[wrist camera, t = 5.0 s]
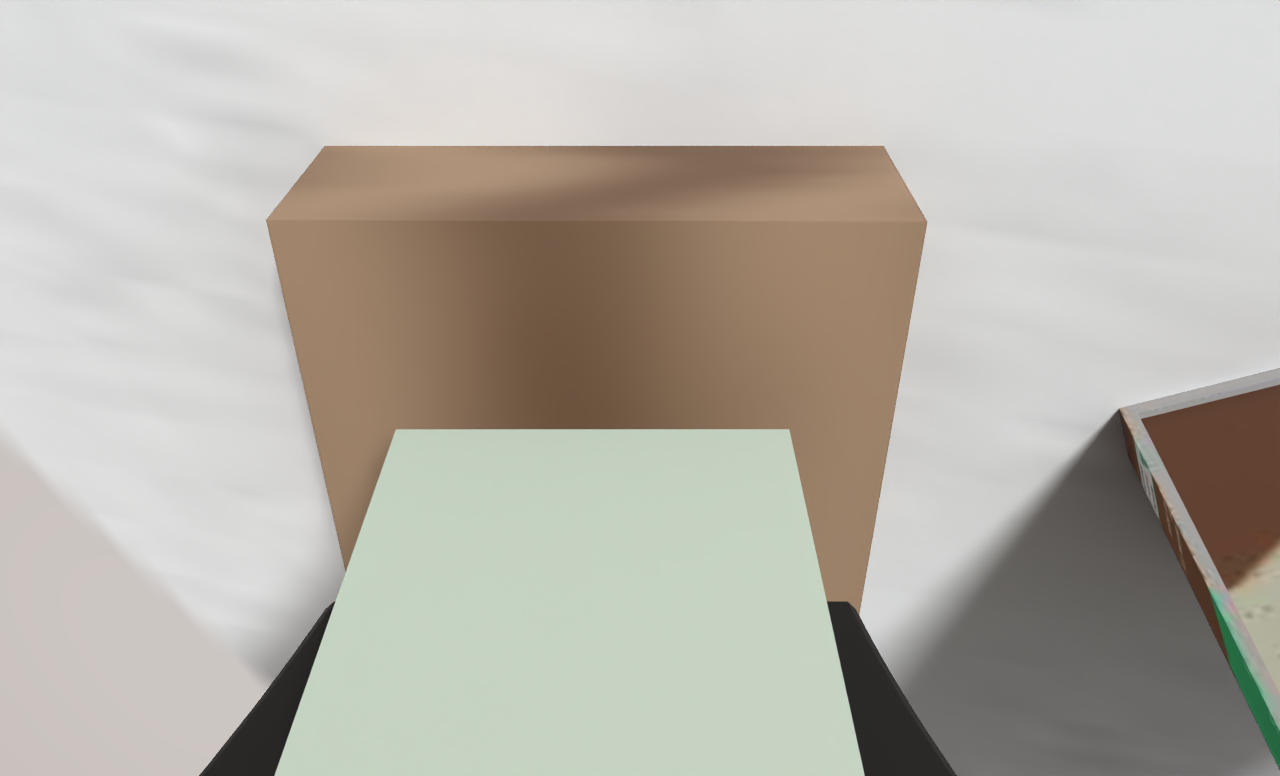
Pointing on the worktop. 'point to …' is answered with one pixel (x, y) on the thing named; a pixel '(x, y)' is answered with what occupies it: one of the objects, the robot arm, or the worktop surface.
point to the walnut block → (607, 305)
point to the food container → (1223, 517)
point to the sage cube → (580, 614)
